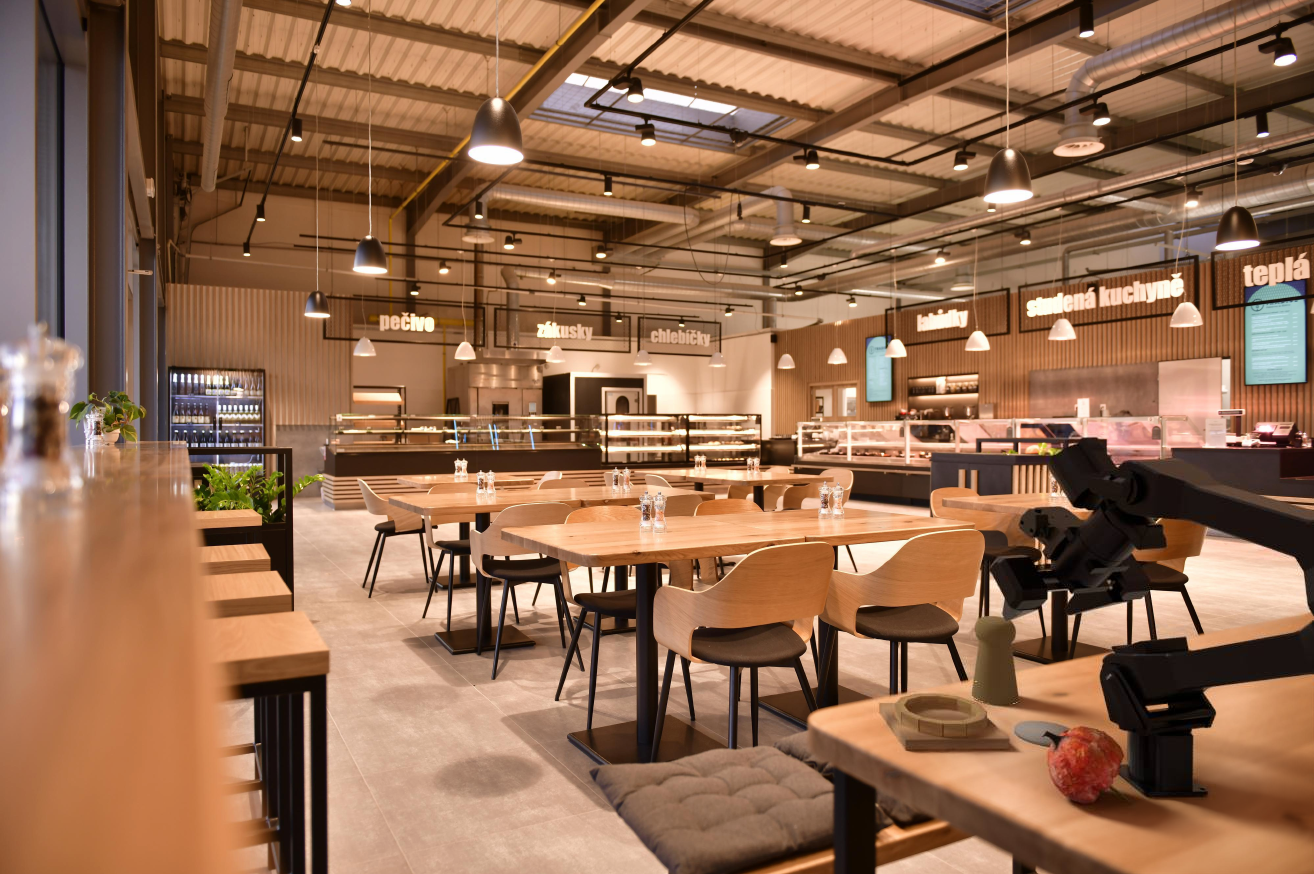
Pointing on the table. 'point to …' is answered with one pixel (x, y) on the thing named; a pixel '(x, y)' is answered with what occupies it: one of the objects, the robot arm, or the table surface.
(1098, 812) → the table surface
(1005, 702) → the olive green peg
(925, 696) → the hub board
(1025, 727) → the grey coaster
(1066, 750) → the pomegranate
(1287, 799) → the table surface
